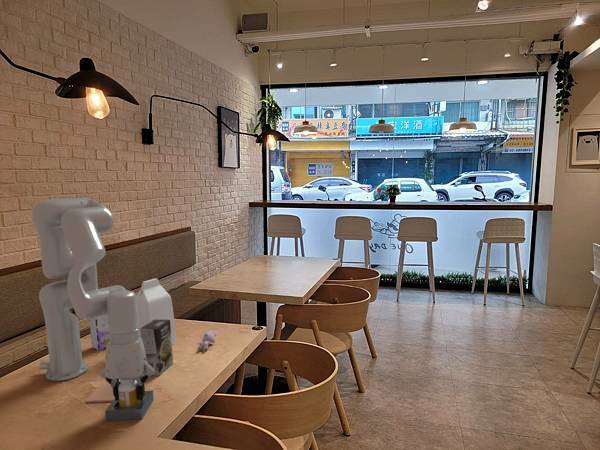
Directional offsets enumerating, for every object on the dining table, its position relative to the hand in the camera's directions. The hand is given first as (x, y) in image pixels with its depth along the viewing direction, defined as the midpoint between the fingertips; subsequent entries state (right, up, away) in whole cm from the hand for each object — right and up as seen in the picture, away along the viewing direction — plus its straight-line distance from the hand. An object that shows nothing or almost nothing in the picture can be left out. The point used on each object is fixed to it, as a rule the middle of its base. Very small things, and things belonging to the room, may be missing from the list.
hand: (129, 397), depth 116 cm
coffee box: (0, -1, +25) cm, 25 cm away
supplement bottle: (0, -4, 0) cm, 4 cm away
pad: (-10, -3, +10) cm, 15 cm away
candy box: (-27, +1, +48) cm, 56 cm away
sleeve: (0, -4, 0) cm, 4 cm away
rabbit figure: (+12, +1, +44) cm, 46 cm away
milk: (-9, +1, +46) cm, 47 cm away
